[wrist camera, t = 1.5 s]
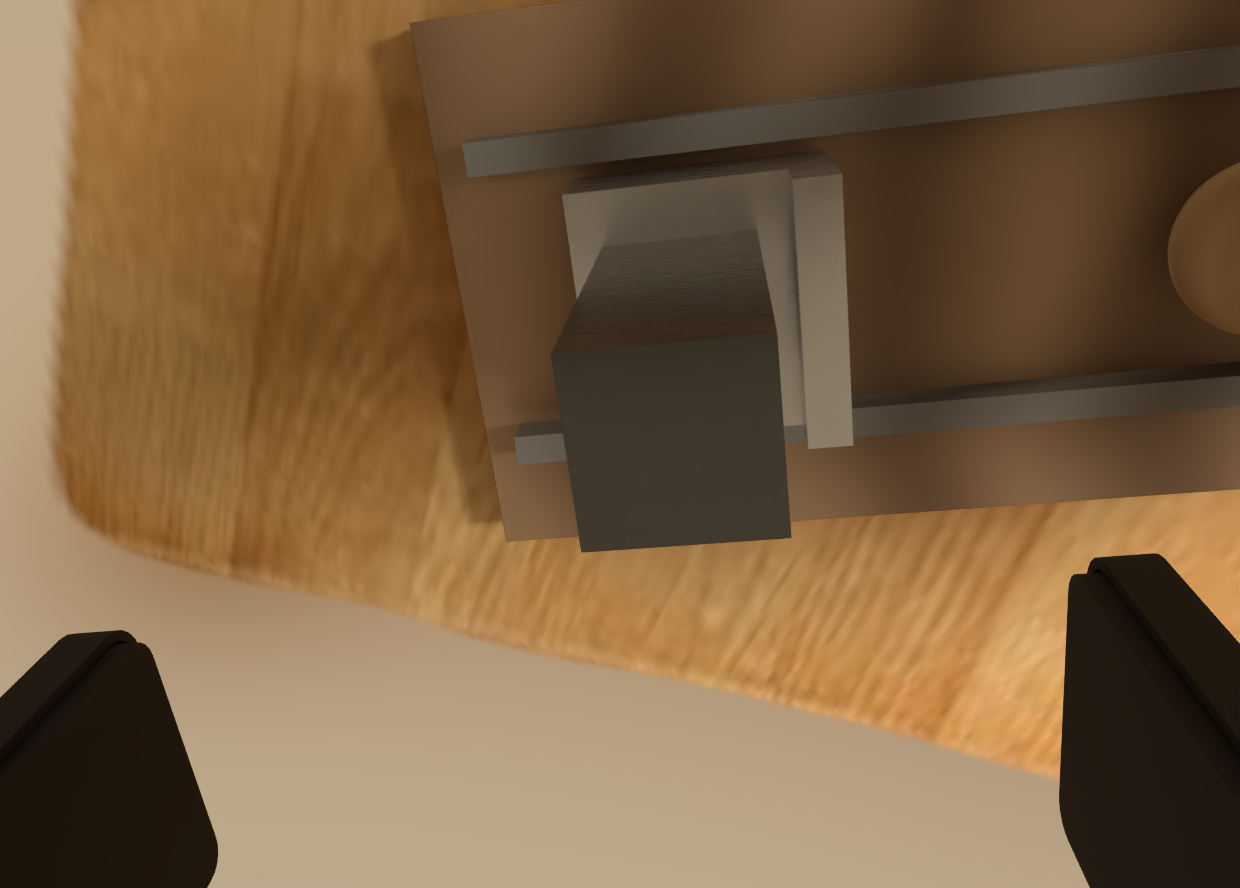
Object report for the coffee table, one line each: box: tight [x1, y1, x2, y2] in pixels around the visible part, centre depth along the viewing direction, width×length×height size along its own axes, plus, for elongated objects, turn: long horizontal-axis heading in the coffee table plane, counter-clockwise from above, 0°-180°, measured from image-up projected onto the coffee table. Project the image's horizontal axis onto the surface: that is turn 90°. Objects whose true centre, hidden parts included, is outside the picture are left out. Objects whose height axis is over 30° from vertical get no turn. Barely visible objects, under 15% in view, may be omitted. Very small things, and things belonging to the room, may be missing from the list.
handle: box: [550, 150, 853, 552], centre depth 21 cm, size 6×6×10 cm
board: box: [410, 0, 1240, 541], centre depth 24 cm, size 24×14×6 cm, turn 97°
